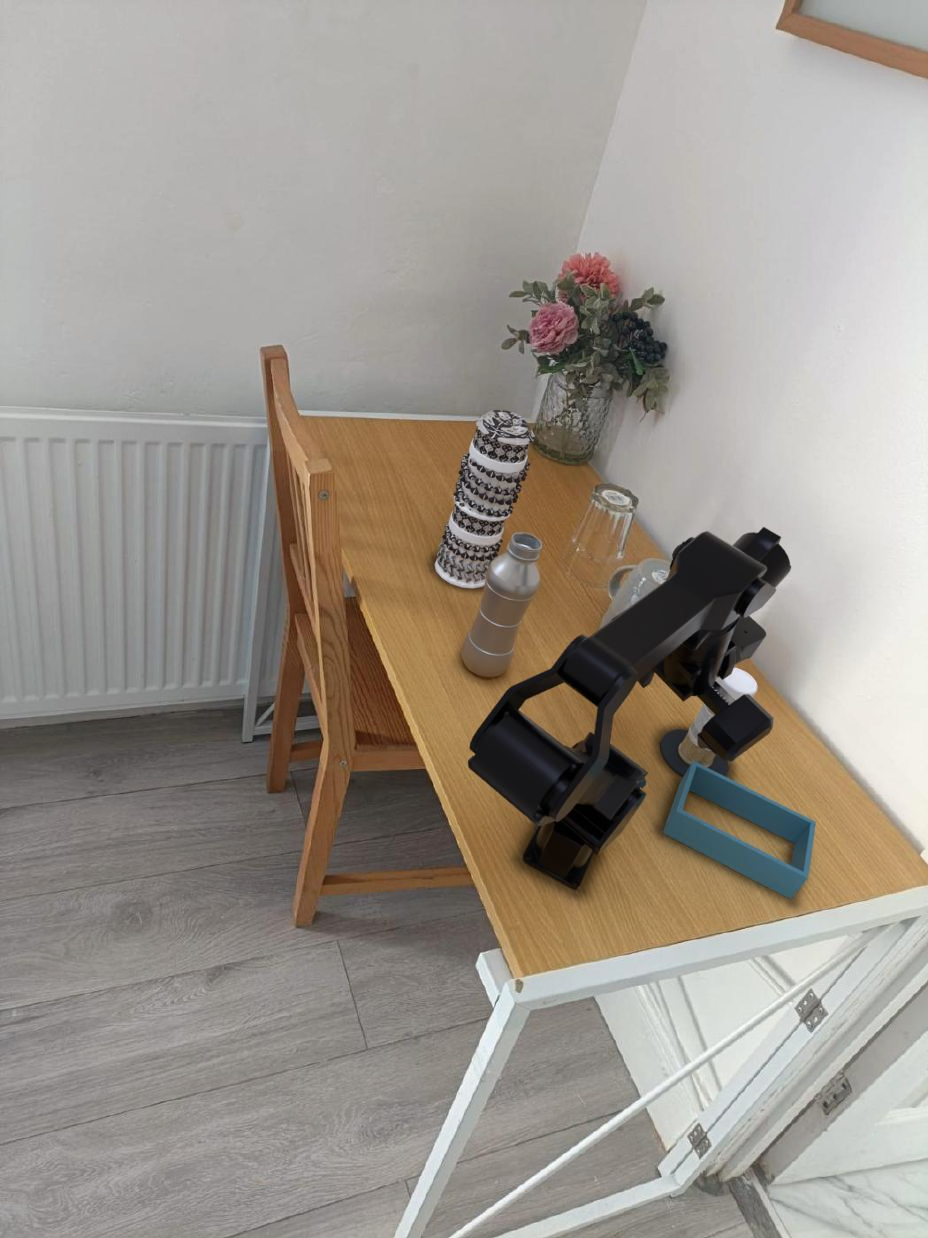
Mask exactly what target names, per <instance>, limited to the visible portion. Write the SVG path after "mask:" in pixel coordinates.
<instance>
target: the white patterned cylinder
mask: <svg viewBox="0 0 928 1238" xmlns="http://www.w3.org/2000/svg"><path fill="white" fill-rule="evenodd" d="M475 425H476V429H475V432H474V437H473V438H472V440H471V442H470V445H469V447H468V448H469V449H468V451H467V453H464V454H463V455H462V459H461V460H460V468H459V469H458V472H457V473H458V474H459V476H458V477H457V482H456V483H455V490H454V491H453V493H452V494H453V500H454V507H453V510H452V511H451V513H450V516H449V519H448V520H447V521H446V524H445V525H444V533H443V534H442V535H441V537H442V539H441V542H440V544H439V545H438V552H437V553H436V561H435V562H434V568H435V572H436V573H437V574H438V576H439V577H441V579H443V580H444V581H446V582H447V583H449V584H451V585H453V586H455V587H456V586H457V587H459V588H462V589H464V588H465V589H478V588H483V587H484V586H485V579H486V573H487V568H488V566H489V565H490V564H491V562H492V561H493V560H494V559H495V558H497V557H498V556H499V552H500V551H501V550H500V549H501V547H502V543H503V541H504V540H503V538H502V535H503V534H504V530H505V524H506V520H507V519H508V518H509V517H511V515H512V514H513V510H514V506H513V504H516V503H517V502H518V499H519V495H518V494H520V493H521V491H522V489H523V486H522V484H521V483H522V482H525V481H526V479H527V476H528V474H527V472H528V471H529V470H530V467H531V463H530V462H529V461H528V457H529V455H528V454H529V449H530V446H531V444H532V443H533V442H534V440H535V438H536V435H535V433H534V432H533V430H532V429H531V427H530V425H529V423H528V421H527V420H526V419H525V418H524V417H523V416H521V415H519V414H517V413H516V412H513V411H509V410H504V409H493V410H490V411H488V412H487V413H485V414H483V415H480V416H478V417H477V418H476V420H475Z"/></svg>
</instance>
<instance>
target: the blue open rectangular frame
mask: <svg viewBox="0 0 928 1238" xmlns="http://www.w3.org/2000/svg"><path fill="white" fill-rule="evenodd" d="M689 792H691V793H694V794H695V795H698V796H699V797H700V798H703V799H705V800H707V801H709V802H711V803H714V805H717V806H719V807H721V808H723V809H725V810H727V811H728V812H731V813H732V814H735V815H736V816H739V817H741V818H743V819H745V820H747V821H749V822H750V823H752V824H754V825H757V826H759V827H761V828H763V829H764V830H766V831H768V832H770V833H772V834H774V835H776V836H778V837H780V838H782V839H785V840H786V841H788V842H790V843H792V844H793V850H792V858H791V863H790V864H789V863H787V862H785V861H783V860H781V859H779V858H777V857H775V856H774V855H771V854H769V853H767V852H765V851H764V850H762V849H759V847H756V846H753V844H752V845H751V844H749V843H748V842H746V841H745V840H742V839H740V838H738V837H736V836H734V835H732V834H730V833H729V832H726V831H724V830H722V829H721V828H718V827H716V826H715V825H713V824H710V823H709V822H706V821H705V820H703V819H700V817H697V816H695V815H693V814H691V813H690V812H687V811H686V810H684V807H685V804H686V801H687V797H688V794H689ZM816 824H817V822H816V821H815V820H813V819H811V818H809V817H808V816H806V815H803V814H801V813H799V812H797V811H795V810H793V809H791V808H789V807H787V806H785V805H783V804H781V803H779V802H777V801H775V800H773V799H771V798H769V797H767V796H765V795H763V794H761V793H759V792H757V791H755V790H753V789H751V788H749V787H747V786H745V785H743V784H741V783H739V782H737V781H735V780H733V779H731V778H729V777H727V776H726V777H725V776H723V775H721V774H719V773H717V772H715V771H713V770H711V769H709V768H707V767H705V766H703V765H701V764H699V763H697V762H695V761H693V762H692V763H691V765H690V767H689V768H688V770H687V772H686V773H685V775H684V777H682V778H681V780H680V782H679V784H678V788H677V790H676V794H675V795H674V798H673V802H672V805H671V808H670V811H669V814H668V816H667V819H666V822H665V825H664V828H663V831H662V834H664V835H666V836H668V837H669V838H671V839H673V840H674V841H677V842H679V843H681V844H683V845H684V846H687V847H688V848H691V849H692V850H695V851H697V852H699V853H700V854H702V855H704V856H706V857H707V858H709V859H712V860H713V861H715V862H717V863H720V864H721V865H723V866H725V867H727V868H729V869H731V870H733V871H735V872H737V873H738V874H740V875H743V876H745V877H747V878H748V879H751V880H752V881H754V882H756V883H758V884H760V885H762V886H764V887H766V888H768V889H770V890H771V891H773V892H775V893H777V894H779V895H781V896H783V897H785V898H787V899H788V900H792V899H793V898H794V896H795V895H796V894H797V893H798V891H799V890H800V889H801V888H802V887H803V885H804V884H805V883H806V881H807V880H808V879H809V874H810V867H811V860H812V853H813V848H814V847H813V845H814V839H815V832H816Z"/></svg>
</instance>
